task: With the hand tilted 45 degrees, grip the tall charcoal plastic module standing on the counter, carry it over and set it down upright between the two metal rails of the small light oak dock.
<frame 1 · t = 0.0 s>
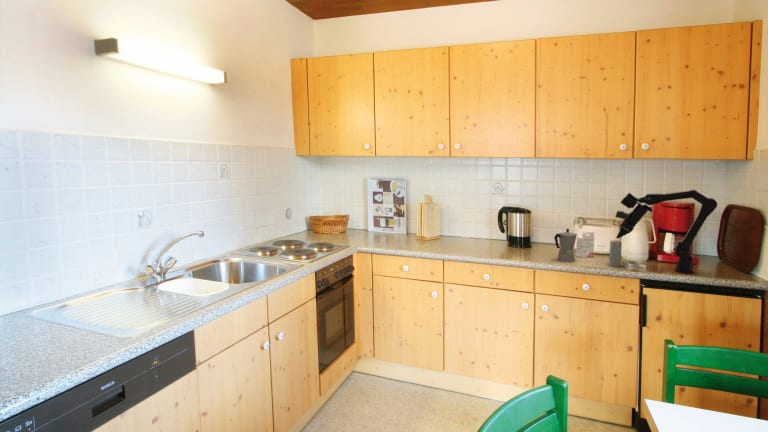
hand: (617, 236, 243), 15 cm above the countertop, tool tilted 35°, fingers open, 9 cm apart
coffeepot: (564, 260, 252), on the countertop
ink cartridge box: (584, 256, 262), on the countertop
rail dock: (634, 269, 233), on the countertop
module: (614, 265, 241), on the countertop
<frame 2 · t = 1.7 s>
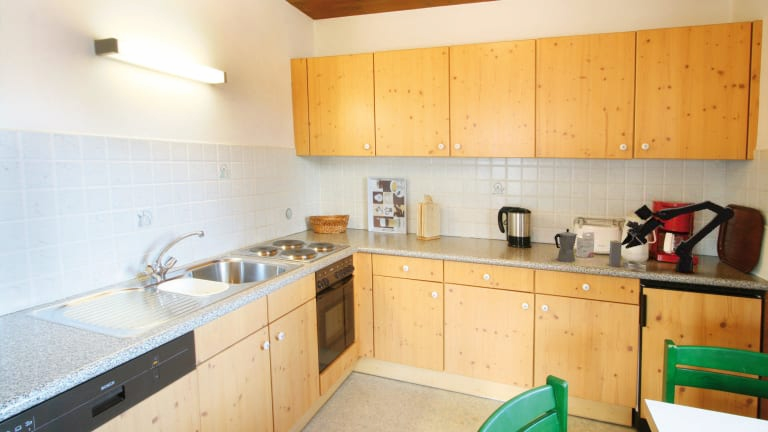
hand: (623, 246, 239), 11 cm above the countertop, tool tilted 45°, fingers open, 9 cm apart
nothing on the countertop moved.
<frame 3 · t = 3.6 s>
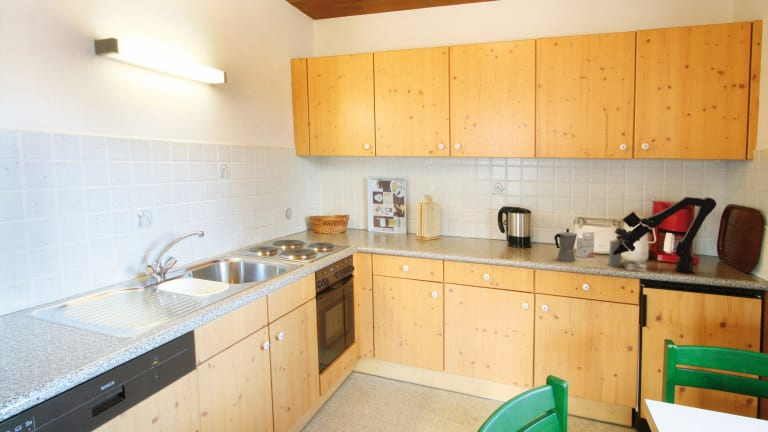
hand: (612, 253, 240), 7 cm above the countertop, tool tilted 45°, fingers closed on module, 5 cm apart
module: (614, 265, 241), on the countertop, touching gripper
everything else where it was.
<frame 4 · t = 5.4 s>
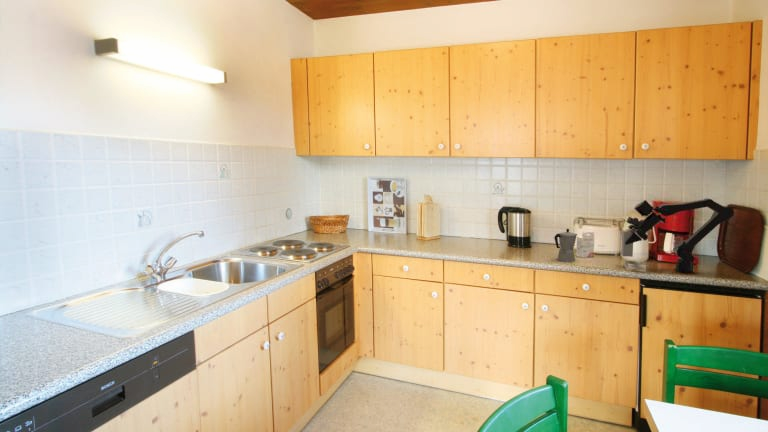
hand: (624, 243, 235), 13 cm above the countertop, tool tilted 45°, fingers closed on module, 5 cm apart
module: (626, 255, 236), point 6 cm above the countertop, touching gripper
everything else where it was.
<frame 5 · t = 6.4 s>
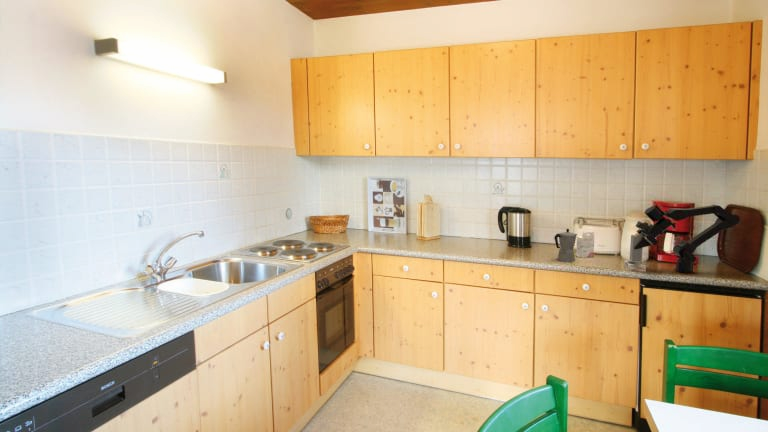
hand: (633, 247, 232), 11 cm above the countertop, tool tilted 45°, fingers closed on module, 5 cm apart
module: (635, 260, 232), point 5 cm above the countertop, touching gripper
everything else where it was.
when the fingers open (9 cm above the countertop, at t = 7.2 s): module drops 1 cm, resting on rail dock.
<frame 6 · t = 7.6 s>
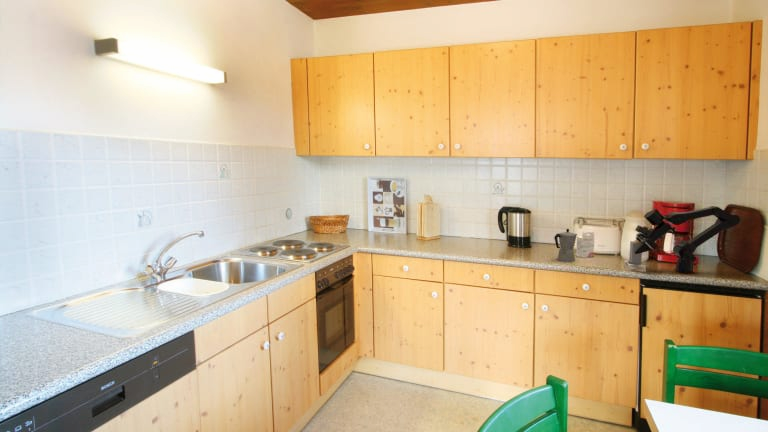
hand: (632, 251, 232), 9 cm above the countertop, tool tilted 45°, fingers open, 9 cm apart
module: (634, 266, 233), point 1 cm above the countertop, touching rail dock
everything else where it was.
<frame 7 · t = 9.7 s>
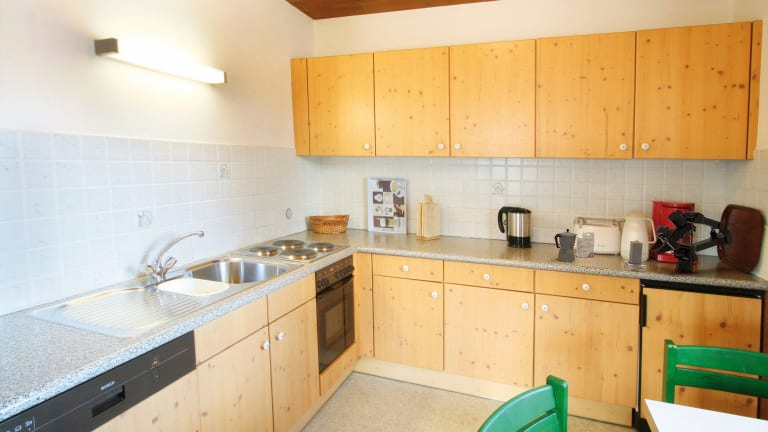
hand: (653, 251, 230), 10 cm above the countertop, tool tilted 45°, fingers open, 9 cm apart
nothing on the countertop moved.
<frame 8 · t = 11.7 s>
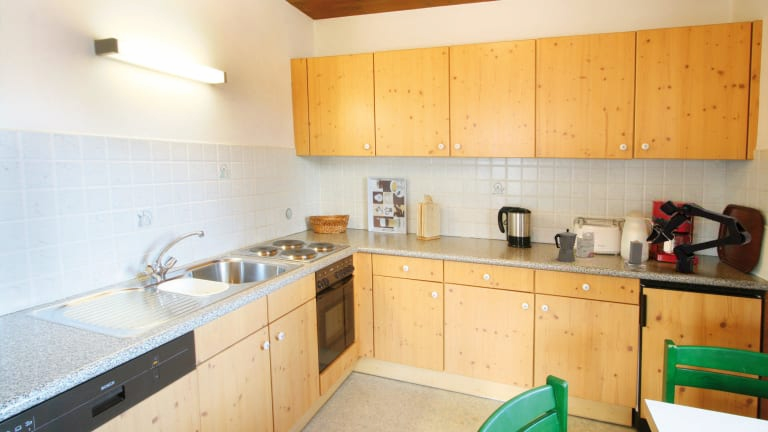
hand: (648, 242, 233), 14 cm above the countertop, tool tilted 45°, fingers open, 9 cm apart
nothing on the countertop moved.
at the end: module 0.0 cm off-centre on the rail dock, point 1.2 cm above the rail dock's base; module tilted 0°; the gripper is holding nothing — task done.
